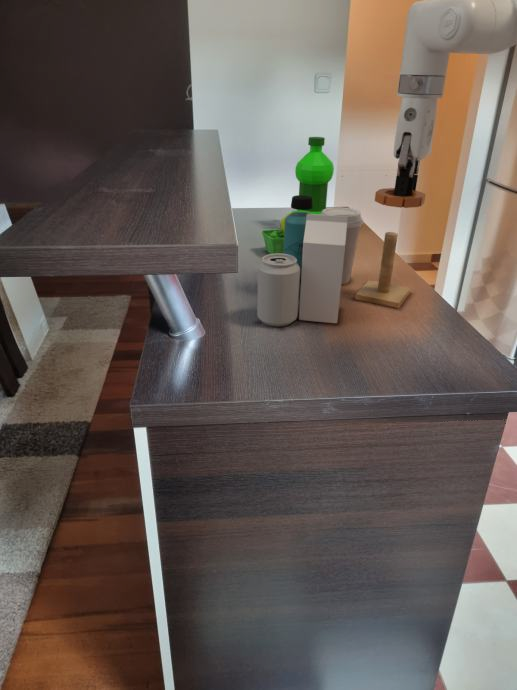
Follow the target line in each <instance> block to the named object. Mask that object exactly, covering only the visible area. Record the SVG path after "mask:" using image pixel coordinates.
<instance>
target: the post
mask: <svg viewBox="0 0 517 690" xmlns="http://www.w3.org/2000/svg"><path fill="white" fill-rule="evenodd" d="M398 236H399V234H398V233H397V232H393V231H387V232H385V233H384V240H383V246H382V247H383V248H382V254H381V261H380V262H381V263H380V268H379V276H378V281H376V280H371V279H369V280H367V281H366V283H365V284H364V285H363V286H362V287H361V288H360V289H359V290H358V291H357V292H356V293H355V294H354V300H357V301H362V302H366V303H371V304H375V305H380V306H384V307H385V306H386V307H389V308H395V309H400V307H401V306H402V304H404V301H405V300H406V299H407V297H408V296H409V294H410V293H411V287H407V286H402V285H398V284H391V283H392V277H393V269H394V263H395V256H396V250H397V243H398Z"/></svg>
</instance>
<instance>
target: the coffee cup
mask: <svg viewBox="0 0 517 690" xmlns="http://www.w3.org/2000/svg"><path fill="white" fill-rule="evenodd" d="M321 215H334V216H348V220H347V231H346V242H345V252H344V262H343V272H342V282H341V285H345V284H346V285H347V284H348V283H349V282H350V280H351V276H352V272H353V266H354V262H355V261H354V260H355V256H356V251H357V246H358V241H359V235H360V231H361V227H362V226H363V225H364V219H363V217H362V215H361V212H360V211H359V210H358V209H354V208H351V207H350V208H349V207H341V206H337V207H326V209H324V210H323V211H322V213H321Z"/></svg>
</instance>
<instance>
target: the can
mask: <svg viewBox="0 0 517 690" xmlns="http://www.w3.org/2000/svg"><path fill="white" fill-rule="evenodd" d="M296 262H297V259H296V258H295V257H294V256H292V255H288V254H281V253H275V254H270V253H268V254H266V255H264V256H262V258H261V262H260V263H259V264H258V265H257V303H256V305H257V311H256V313H257V314H256V316H257V319H259V320H260V321H261V322H262V323H263V324H264V325H267V326H271V327H286V326H288V325H289V326H290V325H291V324H292V323H293V322H294V321H296V320H297V319H298V317H299V299H300V293H299V280H300V266H299V265H298V264H297V263H296Z"/></svg>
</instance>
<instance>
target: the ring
mask: <svg viewBox="0 0 517 690" xmlns="http://www.w3.org/2000/svg"><path fill="white" fill-rule="evenodd" d="M394 189H395V187H389V188H387V187H386V188H381V189H380V188H379V189H377V190H376V191H375V195H374V202H376V203H378V204H380V205H382V206H386V207H393V208H400V209H401V208H404V209H409V208H410V209H411V208H419V207H422V206H423V205H424V204H425V201H426V193H425V192H421V191H419V190H415V191H414V190H413V191H412V196H406V197H401V196H394Z"/></svg>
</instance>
